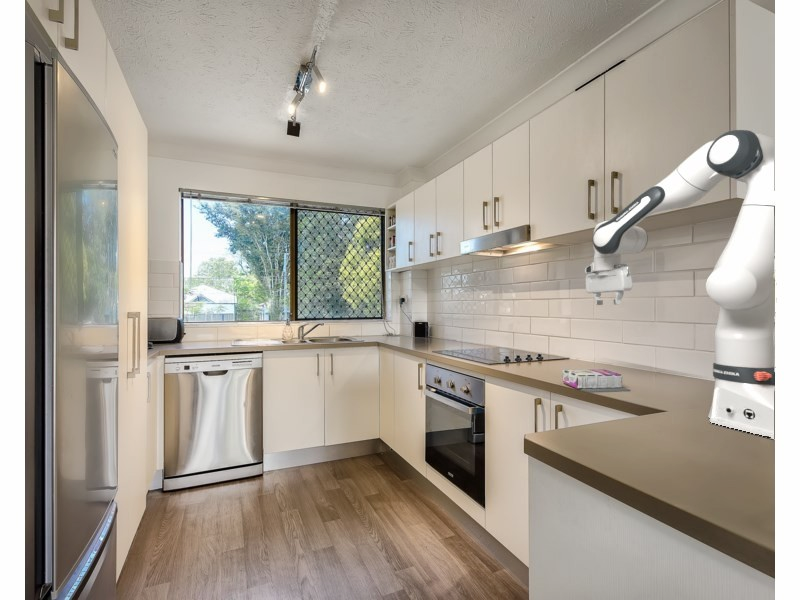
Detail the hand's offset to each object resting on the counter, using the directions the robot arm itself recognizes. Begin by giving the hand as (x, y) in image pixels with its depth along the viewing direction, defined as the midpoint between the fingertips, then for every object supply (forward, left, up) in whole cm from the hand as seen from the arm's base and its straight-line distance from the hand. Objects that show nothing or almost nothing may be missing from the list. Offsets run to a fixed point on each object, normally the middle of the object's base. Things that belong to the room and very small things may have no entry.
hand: (608, 304), depth 141 cm
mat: (+1, +4, -30) cm, 30 cm away
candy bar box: (+2, -3, -27) cm, 27 cm away
